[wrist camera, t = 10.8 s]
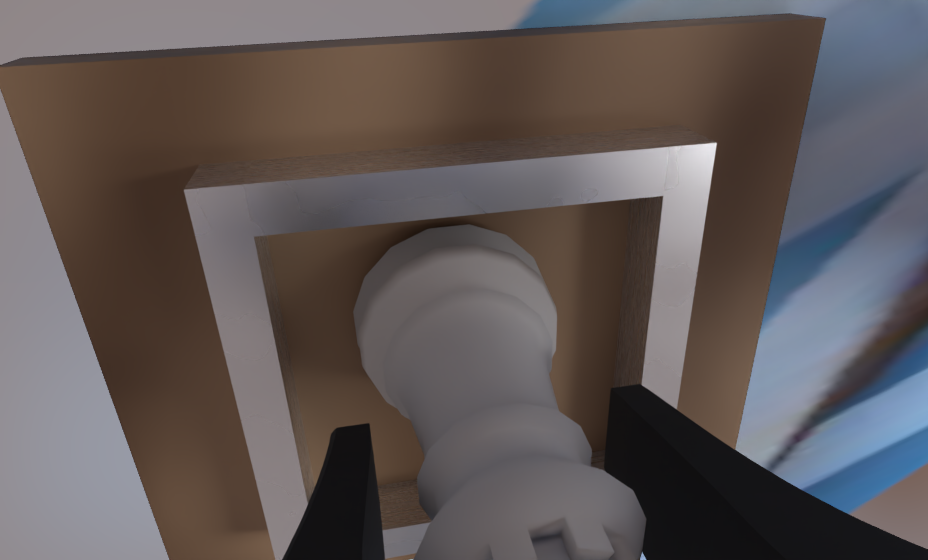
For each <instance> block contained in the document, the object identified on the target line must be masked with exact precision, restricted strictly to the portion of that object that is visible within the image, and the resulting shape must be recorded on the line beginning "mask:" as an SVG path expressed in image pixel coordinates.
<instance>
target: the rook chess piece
mask: <svg viewBox="0 0 928 560" xmlns="http://www.w3.org/2000/svg"><path fill="white" fill-rule="evenodd" d="M353 314H354V321H355V328H356V336H357V343H358V346H359V348H360V353H361V360H362V367H363V368H364V370H365V371H366V373H367V375H368V376H369V378H370V379H371V380H372V382H373V383H374V385H375V386H376V388H377V389H378V391H379V392H380V394H381V395H382V396H383V398H384V399H385V401H386V402H387V403H389V404H390V405H392V406H394V407H395V408H397V409H398V410H399V412H400V413H401V415H403V416H404V417H406V418H408V419H409V420H411V423H412V426H413V428H414V431H415V433H416V436H417V438H418V441H419V443H420V446H421V449H422V451H423V454H424V458H425V459H424V462H423V464H422V467H421V469H420V471H419V474H418V476H417V484H418V495H419V504H420V505H421V507H422V508H423V510H424V511H425V512H426V514H427V515H428V516H429V518H430V519H431V521H432V522H431V523H430V524H429V526H428V528H427V530H426V533H425V535H424V537H423V539H422V542H421V544H420V546H419V548H418V551H417V553H416V555H415V557H414V559H413V560H640V557H641V554H642V549H643V541H644V534H645V526H646V517H645V515H644V513H643V511H642V508H641V506H640V504H639V502H638V500H637V497H636V495H635V493H634V491H633V490H632V489H630V488H629V487H627V486H626V485H624V484H623V483H621V482H620V481H618V480H617V479H615V478H614V477H612V476H611V475H609V474H608V473H606V472H605V471H603V470H601V469H597V468H594V467H591V456H592V449H591V447H590V444H589V442H588V440H587V438H586V436H585V434H584V432H583V430H582V428H581V426H580V425H578V424H577V423H575V422H574V421H572V420H571V419H570V418H568V417H567V416H565V415H564V414H562V413H561V412H560V411H559V409H558V405H557V402H556V398H555V394H554V391H553V387H552V383H551V380H550V376H549V373H550V371H551V369H552V357H553V355H554V353H555V351H556V334H557V311H556V306H555V304H554V302H553V299H552V297H551V295H550V293H549V290H548V288H547V286H546V284H545V282H544V279H543V277H542V275H541V273H540V270H539V268H538V266H537V264H536V262H535V259H534V257H532V256H531V255H530V254H529V253H528V252H526V251H525V250H524V249H523V248H522V247H520V246H519V245H518V244H517V243H515V242H514V241H513V240H512V239H511V238H509V237H508V236H507V235H505V234H501V233H498V232H494V231H491V230H487V229H484V228H480V227H477V226H473V225H470V224H468V225H458V226H449V227H439V228H429V229H426V230H424V231H422V232H420V233H418V234H416V235H414V236H412V237H410V238H408V239H407V240H405V241H403V242H401V243H399V244H397V245H395V246H393V247H391V248H390V249H389V250H388V251H387V252H386V253H385V255H384V256H383V257H382V258H381V259H380V260H379V261H378V262H377V264H376V265H375V266H374V267H373V268H372V269H371V270H370V271H369V272H368V274H367V275H366V276H365V277H364V280H363V283H362V286H361V289H360V292H359V295H358V298H357V301H356V304H355V308H354V311H353Z"/></svg>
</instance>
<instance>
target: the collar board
mask: <svg viewBox="0 0 928 560" xmlns="http://www.w3.org/2000/svg"><path fill="white" fill-rule="evenodd" d="M825 20H826V18H820V17H812V16H805V15H797V14H774V15H757V16H739V17H722V18H705V19H687V20H670V21H653V22H635V23H618V24H600V25H583V26H566V27H548V28H531V29H514V30H497V31H479V32H461V33H445V34H427V35H410V36H394V37H393V36H392V37H375V38H357V39H340V40H324V41H323V40H322V41H307V42H306V41H305V42H288V43H270V44H253V45H235V46H220V47H219V46H218V47H203V48H202V47H201V48H183V49H167V50H149V51H131V52H114V53H96V54H79V55H62V56H44V57H27V58H20V59H17V60H14V61H11V62H8V63H5V64H3V65H0V89H1V92H2V94H3V97H4V100H5V103H6V106H7V109H8V111H9V114H10V117H11V119H12V122H13V125H14V128H15V131H16V134H17V136H18V139H19V142H20V145H21V148H22V150H23V153H24V156H25V159H26V161H27V164H28V167H29V170H30V172H31V175H32V178H33V181H34V184H35V186H36V189H37V192H38V195H39V197H40V200H41V203H42V206H43V209H44V212H45V214H46V217H47V220H48V223H49V225H50V228H51V231H52V234H53V237H54V239H55V242H56V245H57V248H58V251H59V253H60V256H61V259H62V262H63V264H64V267H65V270H66V272H67V276H68V278H69V281H70V284H71V287H72V289H73V292H74V295H75V298H76V301H77V303H78V306H79V309H80V312H81V315H82V317H83V320H84V323H85V326H86V328H87V331H88V334H89V337H90V340H91V342H92V345H93V348H94V351H95V353H96V356H97V359H98V362H99V365H100V367H101V370H102V373H103V376H104V379H105V381H106V384H107V387H108V390H109V393H110V395H111V398H112V401H113V404H114V406H115V409H116V412H117V415H118V418H119V420H120V423H121V426H122V429H123V432H124V434H125V437H126V440H127V442H128V445H129V448H130V451H131V454H132V457H133V459H134V462H135V465H136V468H137V470H138V473H139V476H140V479H141V482H142V484H143V487H144V490H145V493H146V495H147V498H148V501H149V504H150V507H151V509H152V512H153V515H154V518H155V521H156V523H157V526H158V529H159V532H160V535H161V537H162V540H163V543H164V546H165V548H166V551H167V554H168V557H169V560H282V559H283V557H284V555H285V553H286V551H287V549H288V546H289V544H290V542H291V540H292V538H293V536H294V534H295V532H296V530H297V528H298V526H299V524H300V522H301V519H302V517H303V515H304V512H305V510H306V508H307V505H308V503H309V500H310V498H311V495H312V493H313V491H314V488H315V486H316V483H317V480H318V477H319V475H320V472H321V469H322V466H323V463H324V460H325V457H326V453H327V449H328V446H329V442H330V436H331V433H332V432H333V431H334V430H335V429H336V428H338V427H345V426H352V425H359V424H365V423H370V431H371V439H372V446H373V454H374V462H375V469H376V477H377V485H378V492H379V500H380V509H381V520H382V530H383V541H384V551H385V560H409V559H414V557H415V555H416V553H417V551H418V548H419V546H420V544H421V542H422V539H423V537H424V535H425V533H426V530H427V528H428V526H429V524H430V523H431V522H432V521H431V519H430V518H429V516H428V515H427V514H426V512H425V511H424V510H423V508H422V507H421V505H420V504H419V495H418V484H417V476H418V474H419V471H420V469H421V467H422V464H423V462H424V459H425V458H424V454H423V451H422V449H421V446H420V443H419V441H418V438H417V436H416V433H415V431H414V428H413V426H412V423H411V420H409V419H408V418H406V417H404V416H403V415H401V413H400V412H399V410H398V409H397V408H395V407H394V406H392V405H390V404H389V403H387V402H386V401H385V399H384V398H383V396H382V395H381V394H380V392H379V391H378V389H377V388H376V386H375V385H374V383H373V382H372V380H371V379H370V378H369V376H368V375H367V373H366V371H365V370H364V368H363V367H362V360H361V353H360V348H359V346H358V343H357V336H356V328H355V321H354V314H353V311H354V308H355V304H356V301H357V298H358V295H359V292H360V289H361V286H362V283H363V280H364V277H365V276H366V275H367V274H368V272H369V271H370V270H371V269H372V268H373V267H374V266H375V265H376V264H377V262H378V261H379V260H380V259H381V258H382V257H383V256H384V255H385V253H386V252H387V251H388V250H389V249H390V248H391V247H393V246H395V245H397V244H399V243H401V242H403V241H405V240H407V239H408V238H410V237H412V236H414V235H416V234H418V233H420V232H422V231H424V230H426V229H429V228H439V227H449V226H458V225H468V224H470V225H473V226H477V227H480V228H484V229H487V230H491V231H494V232H498V233H501V234H505V235H507V236H508V237H509V238H511V239H512V240H513V241H514V242H515V243H517V244H518V245H519V246H520V247H522V248H523V249H524V250H525V251H526V252H528V253H529V254H530V255H531V256H532V257H534V259H535V262H536V264H537V266H538V268H539V270H540V273H541V275H542V277H543V279H544V282H545V284H546V286H547V288H548V290H549V293H550V295H551V297H552V299H553V302H554V304H555V306H556V311H557V334H556V351H555V353H554V355H553V357H552V369H551V371H550V373H549V376H550V380H551V383H552V387H553V391H554V394H555V398H556V402H557V405H558V409H559V411H560V412H561V413H562V414H564V415H565V416H567V417H568V418H570V419H571V420H572V421H574V422H575V423H577V424H578V425H580V426H581V428H582V430H583V432H584V434H585V436H586V438H587V440H588V442H589V444H590V447H591V449H592V456H591V467H594V468H597V469H601V470H603V471H605V469H604V458H605V447H606V436H607V424H608V413H609V402H610V390H611V388H615V387H622V386H629V385H636V384H641V385H642V386H644V387H645V388H647V389H648V390H650V391H651V392H653V393H654V394H656V395H657V396H658V397H660V398H661V399H663V400H664V401H665V402H667V403H668V404H670V405H671V406H672V407H674V408H675V409H677V410H678V411H679V412H681V413H682V414H684V415H685V416H686V417H688V418H689V419H691V420H692V421H694V422H695V423H696V424H698V425H699V426H701V427H702V428H704V429H705V430H706V431H708V432H709V433H711V434H712V435H714V436H715V437H717V438H718V439H720V440H721V441H722V442H724V443H725V444H727V445H728V446H730V447H731V448H733V449H734V450H735V447H736V443H737V438H738V433H739V428H740V424H741V419H742V414H743V409H744V405H745V400H746V395H747V390H748V386H749V381H750V376H751V371H752V367H753V362H754V357H755V352H756V348H757V343H758V338H759V333H760V329H761V324H762V319H763V314H764V310H765V305H766V300H767V295H768V291H769V286H770V281H771V276H772V272H773V267H774V262H775V257H776V253H777V248H778V243H779V238H780V234H781V229H782V224H783V220H784V215H785V210H786V205H787V201H788V196H789V191H790V186H791V182H792V177H793V172H794V167H795V163H796V158H797V153H798V148H799V144H800V139H801V134H802V129H803V125H804V120H805V115H806V110H807V106H808V101H809V96H810V91H811V87H812V82H813V77H814V72H815V68H816V63H817V58H818V53H819V49H820V44H821V39H822V34H823V30H824V25H825Z"/></svg>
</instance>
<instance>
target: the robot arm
mask: <svg viewBox="0 0 928 560" xmlns="http://www.w3.org/2000/svg"><path fill="white" fill-rule="evenodd" d="M604 469H605V472H606V473H608V474H609V475H611V476H612V477H614V478H615V479H617V480H618V481H620V482H621V483H623V484H624V485H626V486H627V487H629V488H630V489H632V490H633V491H634V493H635V495H636V497H637V500H638V502H639V504H640V506H641V508H642V511H643V513H644V515H645V517H646V526H645V534H644V541H643V549H642V552H643V554H644V556H645V558H646V559H647V560H928V549H925V548H923V547H921V546H918V545H915V544H913V543H911V542H908V541H906V540H903V539H901V538H899V537H897V536H895V535H892V534H890V533H888V532H886V531H883V530H881V529H879V528H877V527H875V526H872V525H870V524H868V523H865V522H863V521H861V520H859V519H857V518H855V517H853V516H851V515H849V514H847V513H845V512H843V511H841V510H839V509H837V508H835V507H833V506H831V505H829V504H827V503H825V502H823V501H821V500H819V499H818V498H816V497H814V496H812V495H810V494H808V493H806V492H804V491H802V490H801V489H799V488H797V487H795V486H793V485H792V484H790V483H788V482H786V481H785V480H783V479H781V478H780V477H778V476H776V475H775V474H773V473H771V472H770V471H768V470H766V469H765V468H763V467H761V466H760V465H758V464H757V463H755V462H753V461H752V460H750V459H748V458H747V457H745V456H744V455H742V454H741V453H739V452H738V451H736V450H734V449H733V448H731V447H730V446H728V445H727V444H725V443H724V442H722V441H721V440H720V439H718V438H717V437H715V436H714V435H712V434H711V433H709V432H708V431H706V430H705V429H704V428H702V427H701V426H699V425H698V424H696V423H695V422H694V421H692V420H691V419H689V418H688V417H686V416H685V415H684V414H682V413H681V412H679V411H678V410H677V409H675V408H674V407H672V406H671V405H670V404H668V403H667V402H665V401H664V400H663V399H661V398H660V397H658V396H657V395H656V394H654V393H653V392H651V391H650V390H648V389H647V388H645V387H644V386H642V385H641V384H636V385H629V386H622V387H615V388H611V390H610V402H609V413H608V424H607V436H606V447H605V458H604ZM282 560H385V551H384V541H383V530H382V520H381V509H380V500H379V492H378V485H377V477H376V469H375V462H374V454H373V446H372V439H371V431H370V423H365V424H359V425H352V426H345V427H338V428H336V429H335V430H334V431H333V432H332V433H331V436H330V442H329V446H328V449H327V453H326V457H325V460H324V463H323V466H322V469H321V472H320V475H319V477H318V480H317V483H316V486H315V488H314V491H313V493H312V495H311V498H310V500H309V503H308V505H307V508H306V510H305V512H304V515H303V517H302V519H301V522H300V524H299V526H298V528H297V530H296V532H295V534H294V536H293V538H292V540H291V542H290V544H289V546H288V549H287V551H286V553H285V555H284V557H283V559H282Z"/></svg>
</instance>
